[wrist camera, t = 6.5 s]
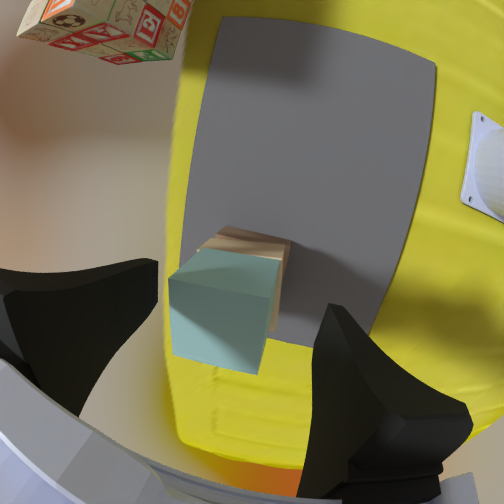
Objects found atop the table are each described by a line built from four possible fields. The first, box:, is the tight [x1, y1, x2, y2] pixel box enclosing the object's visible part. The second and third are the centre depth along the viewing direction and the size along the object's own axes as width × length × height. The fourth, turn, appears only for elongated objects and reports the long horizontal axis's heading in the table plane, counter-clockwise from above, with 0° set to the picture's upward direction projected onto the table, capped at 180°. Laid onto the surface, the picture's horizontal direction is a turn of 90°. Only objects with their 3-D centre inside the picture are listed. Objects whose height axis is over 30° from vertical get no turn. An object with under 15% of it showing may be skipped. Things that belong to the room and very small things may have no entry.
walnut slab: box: [215, 225, 292, 281], centre depth 20 cm, size 5×5×2 cm
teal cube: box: [168, 248, 280, 375], centre depth 14 cm, size 4×4×4 cm
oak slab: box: [197, 238, 285, 332], centre depth 17 cm, size 5×5×2 cm
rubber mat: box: [179, 17, 435, 348], centre depth 19 cm, size 17×26×1 cm, turn 170°
